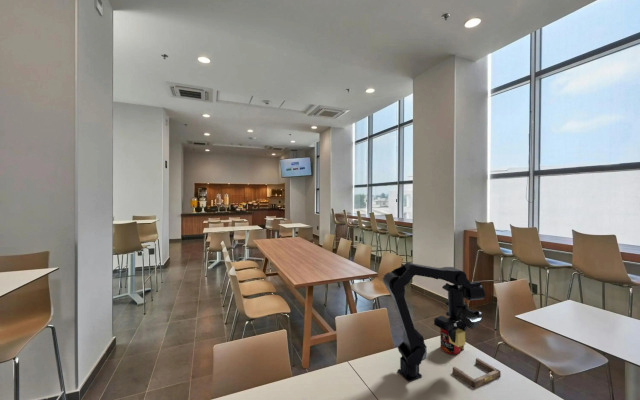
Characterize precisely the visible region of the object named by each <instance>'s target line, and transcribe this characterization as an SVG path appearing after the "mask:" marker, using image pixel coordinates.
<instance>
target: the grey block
mask: <svg viewBox="0 0 640 400" xmlns="http://www.w3.org/2000/svg"><path fill="white" fill-rule="evenodd" d="M425 349H426V353H425V354H424V355H423V358H422V360H425V359H427V357H428V355H427V354H428V351H427V349H428V347H425Z"/></svg>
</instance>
